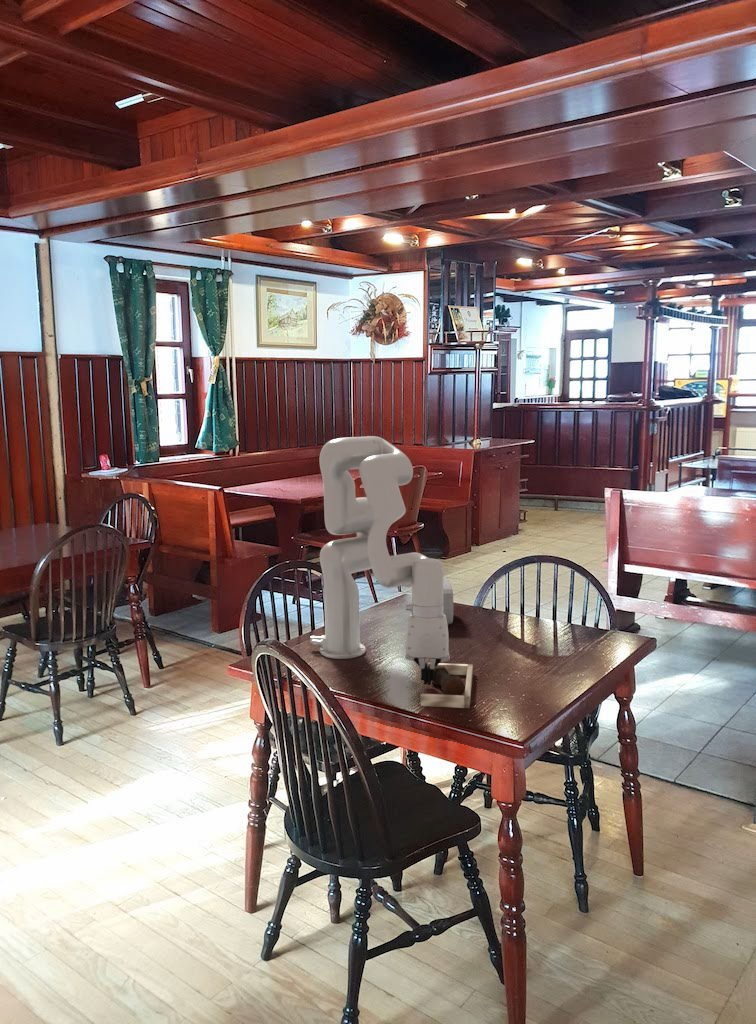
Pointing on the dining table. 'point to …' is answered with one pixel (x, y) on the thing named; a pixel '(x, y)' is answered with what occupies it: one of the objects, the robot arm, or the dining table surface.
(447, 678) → the bolt
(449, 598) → the grey rounded box
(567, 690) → the dining table surface
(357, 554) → the robot arm
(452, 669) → the dock
